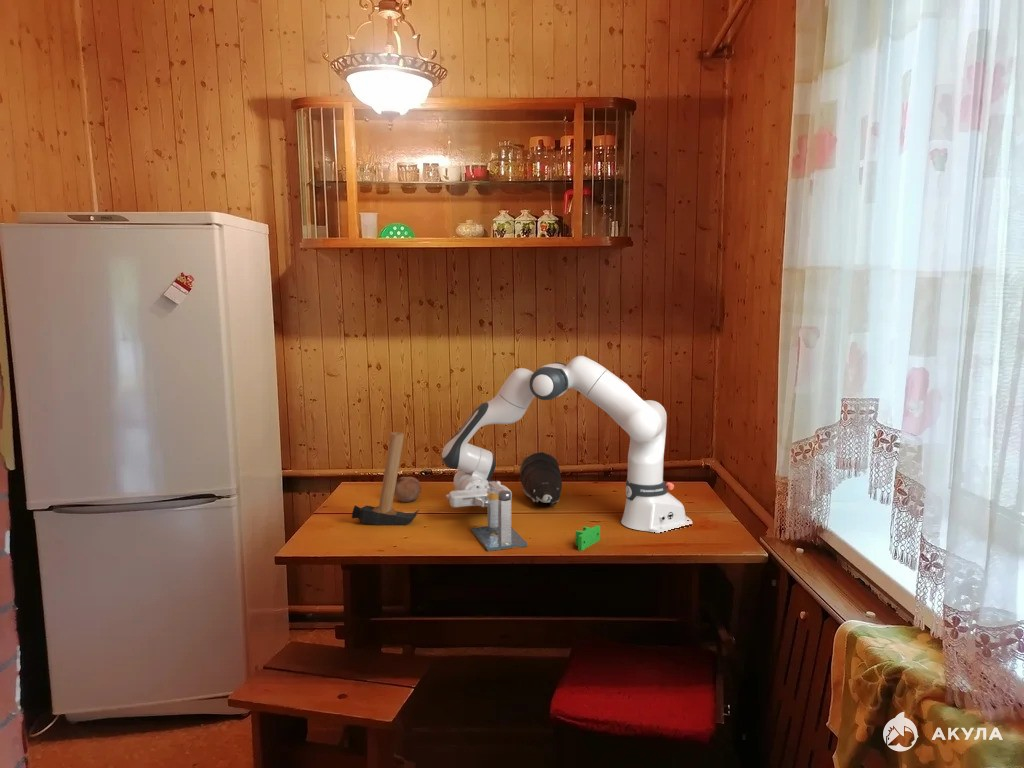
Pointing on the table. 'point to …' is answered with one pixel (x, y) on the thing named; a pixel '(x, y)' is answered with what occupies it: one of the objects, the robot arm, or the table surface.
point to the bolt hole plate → (491, 538)
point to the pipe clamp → (587, 537)
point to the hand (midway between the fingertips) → (486, 504)
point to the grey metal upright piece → (503, 512)
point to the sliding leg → (492, 508)
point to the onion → (407, 489)
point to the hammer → (387, 492)
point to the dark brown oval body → (541, 478)
